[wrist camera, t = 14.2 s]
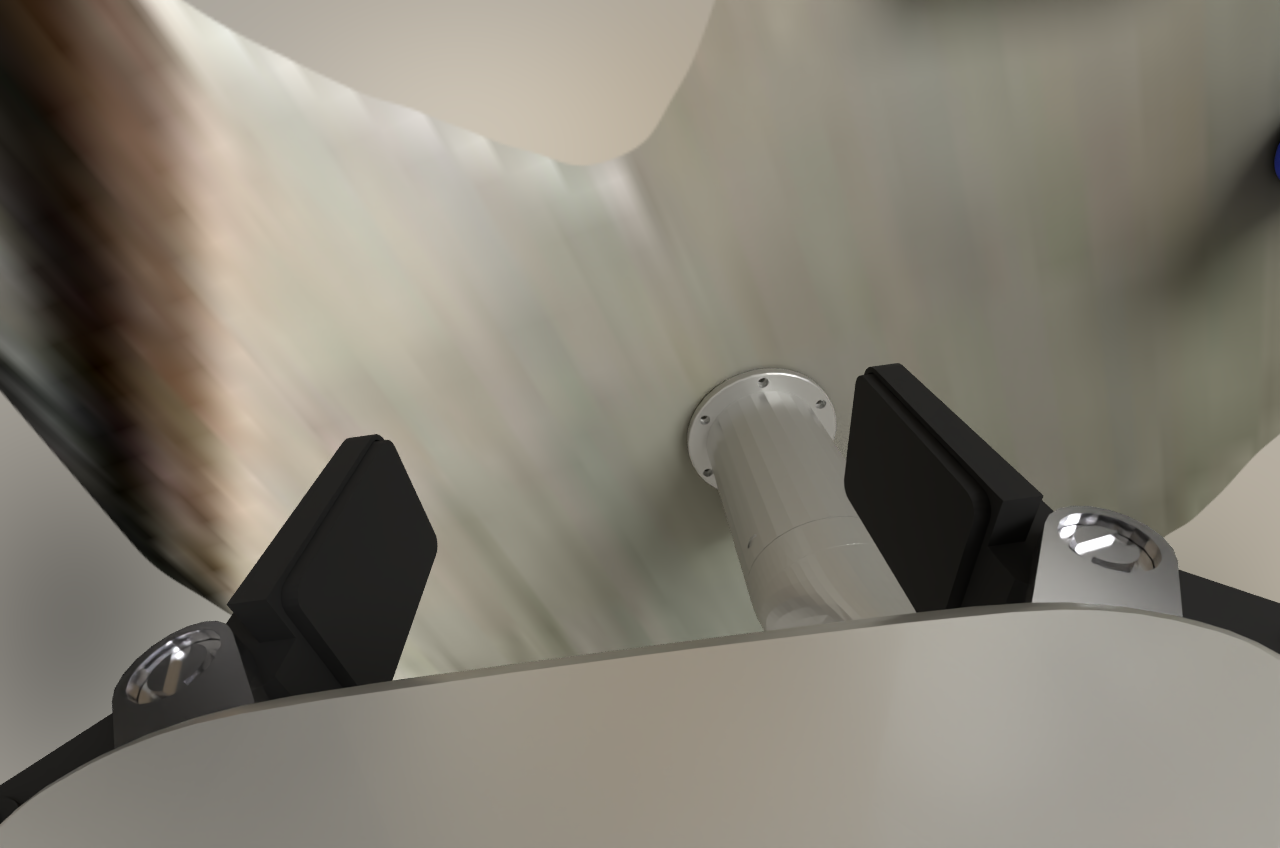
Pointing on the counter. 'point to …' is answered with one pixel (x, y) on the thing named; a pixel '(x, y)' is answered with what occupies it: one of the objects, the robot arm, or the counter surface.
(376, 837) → the robot arm
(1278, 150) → the mug
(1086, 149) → the counter surface
